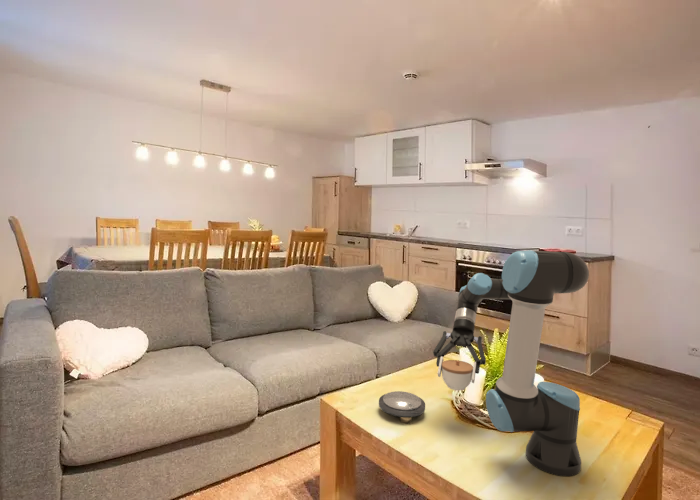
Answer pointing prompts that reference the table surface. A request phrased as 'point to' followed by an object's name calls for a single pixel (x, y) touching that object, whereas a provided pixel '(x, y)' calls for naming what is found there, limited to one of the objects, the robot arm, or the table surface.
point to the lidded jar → (457, 374)
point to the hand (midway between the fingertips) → (455, 378)
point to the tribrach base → (402, 405)
